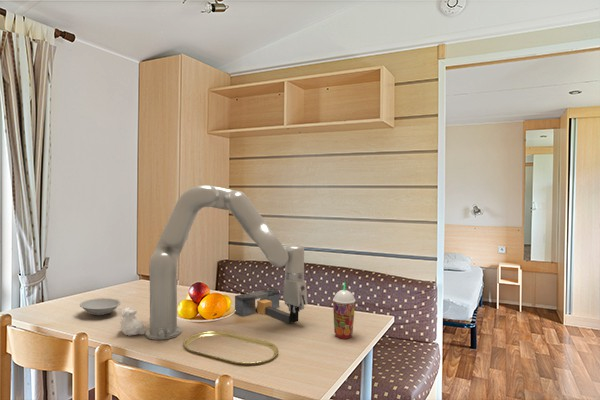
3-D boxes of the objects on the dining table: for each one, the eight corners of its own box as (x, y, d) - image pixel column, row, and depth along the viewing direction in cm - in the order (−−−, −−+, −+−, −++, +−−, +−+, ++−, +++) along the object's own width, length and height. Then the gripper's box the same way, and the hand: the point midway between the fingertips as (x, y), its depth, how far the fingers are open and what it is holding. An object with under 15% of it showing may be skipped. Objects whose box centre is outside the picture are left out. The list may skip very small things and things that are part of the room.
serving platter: (208, 332, 156) (208, 328, 156) (288, 350, 139) (288, 346, 139) (171, 349, 139) (171, 344, 139) (257, 372, 123) (257, 367, 123)
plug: (295, 321, 167) (295, 309, 167) (286, 324, 164) (287, 311, 164) (265, 310, 182) (265, 299, 182) (257, 312, 179) (257, 300, 179)
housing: (279, 307, 187) (279, 290, 186) (242, 316, 173) (242, 298, 173) (271, 304, 191) (271, 288, 191) (234, 312, 178) (235, 295, 177)
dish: (129, 313, 174) (129, 302, 174) (97, 323, 162) (97, 311, 162) (102, 307, 183) (102, 296, 183) (71, 316, 171) (71, 304, 170)
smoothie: (328, 337, 151) (329, 283, 150) (337, 330, 158) (338, 279, 157) (350, 341, 147) (351, 286, 146) (357, 334, 154) (358, 281, 153)
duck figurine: (121, 336, 154) (104, 318, 148) (135, 320, 159) (118, 301, 153) (141, 343, 148) (124, 324, 142) (155, 326, 153) (139, 307, 147)
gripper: (314, 278, 160) (313, 324, 161) (289, 271, 172) (289, 314, 172) (300, 281, 155) (299, 328, 156) (275, 274, 167) (275, 318, 167)
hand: (294, 321), depth 164 cm, fingers closed
